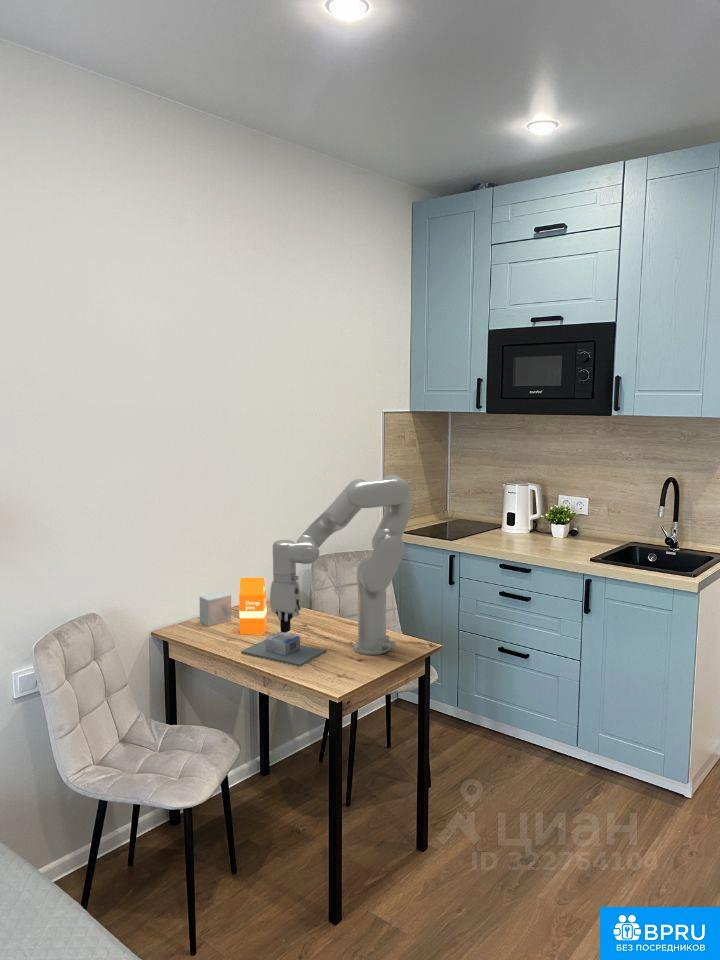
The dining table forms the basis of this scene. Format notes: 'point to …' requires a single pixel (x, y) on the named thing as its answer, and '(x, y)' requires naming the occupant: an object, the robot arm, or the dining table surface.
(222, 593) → the skincare box
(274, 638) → the medicine box
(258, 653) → the mat
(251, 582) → the orange juice
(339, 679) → the dining table surface
